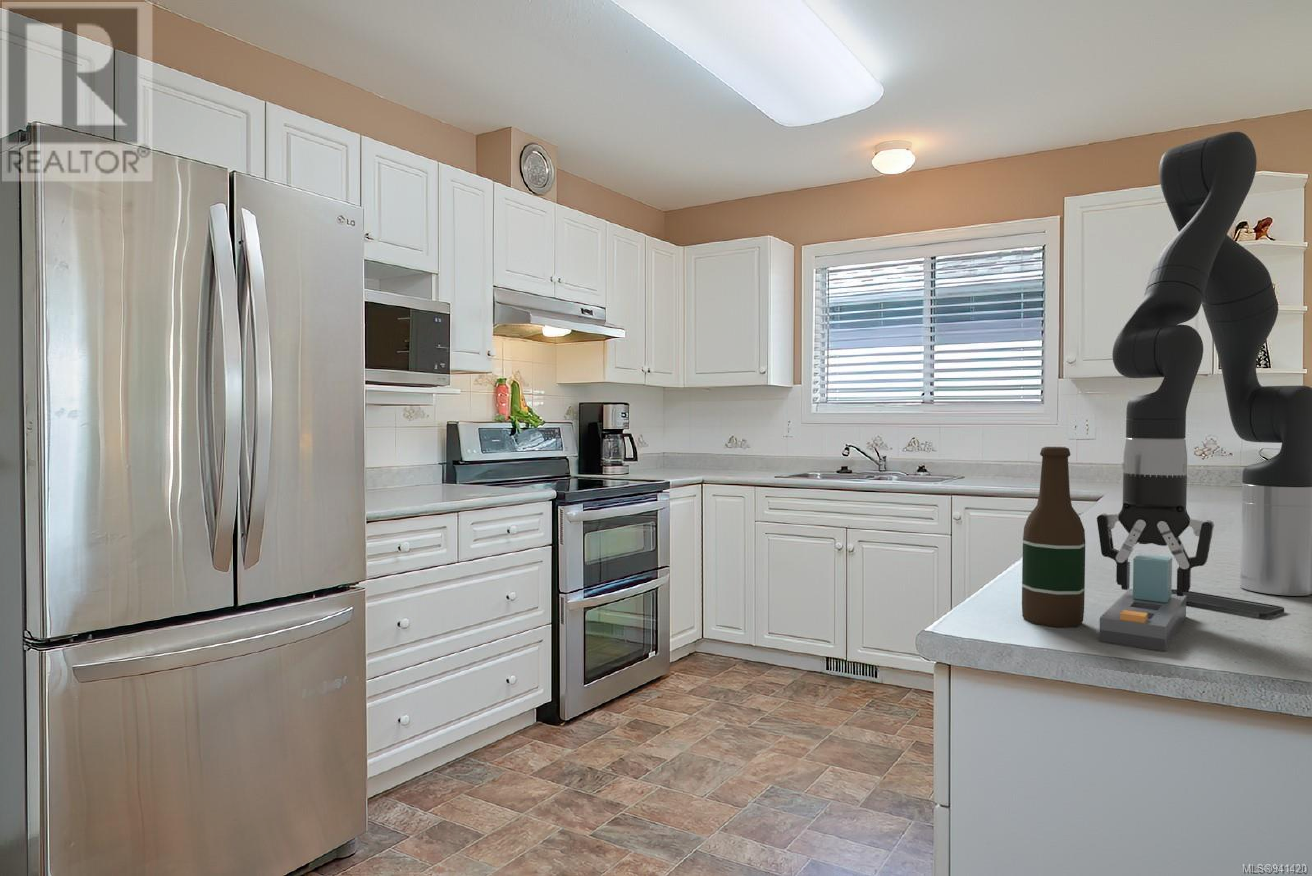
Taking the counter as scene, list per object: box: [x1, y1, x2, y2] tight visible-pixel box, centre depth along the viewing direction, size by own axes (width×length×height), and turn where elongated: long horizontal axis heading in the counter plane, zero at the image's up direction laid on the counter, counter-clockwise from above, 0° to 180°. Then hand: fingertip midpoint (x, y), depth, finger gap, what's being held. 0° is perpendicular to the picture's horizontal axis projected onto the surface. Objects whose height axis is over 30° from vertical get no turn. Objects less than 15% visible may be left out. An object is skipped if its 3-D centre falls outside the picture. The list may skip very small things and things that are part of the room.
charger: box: [1132, 553, 1173, 603], centre depth 112 cm, size 5×4×7 cm
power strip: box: [1098, 588, 1187, 652], centre depth 107 cm, size 22×7×4 cm, turn 141°
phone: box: [1172, 588, 1285, 620], centre depth 121 cm, size 8×1×15 cm
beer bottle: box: [1021, 446, 1086, 628], centre depth 111 cm, size 8×8×24 cm
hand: (1152, 591), depth 112 cm, fingers open, 6 cm apart
